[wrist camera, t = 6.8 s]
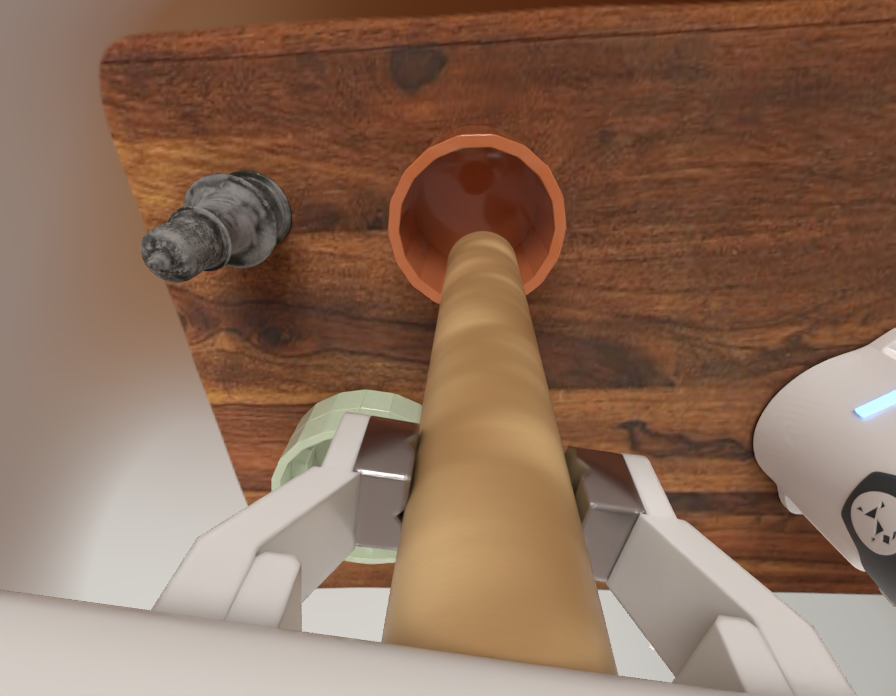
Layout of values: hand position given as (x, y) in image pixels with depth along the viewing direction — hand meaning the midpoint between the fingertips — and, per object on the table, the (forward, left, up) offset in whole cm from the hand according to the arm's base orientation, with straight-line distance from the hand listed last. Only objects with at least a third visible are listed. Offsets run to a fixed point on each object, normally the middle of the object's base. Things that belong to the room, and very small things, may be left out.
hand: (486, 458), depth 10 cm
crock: (0, 0, -25) cm, 25 cm away
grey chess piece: (+15, +3, -25) cm, 30 cm away
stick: (0, 0, -12) cm, 12 cm away
